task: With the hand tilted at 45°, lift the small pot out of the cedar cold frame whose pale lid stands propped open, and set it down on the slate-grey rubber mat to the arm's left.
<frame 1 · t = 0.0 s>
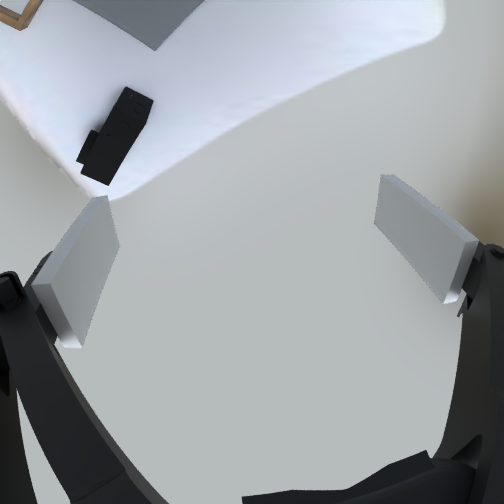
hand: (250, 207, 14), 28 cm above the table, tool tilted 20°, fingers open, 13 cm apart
digital camera: (118, 120, 37), on the table
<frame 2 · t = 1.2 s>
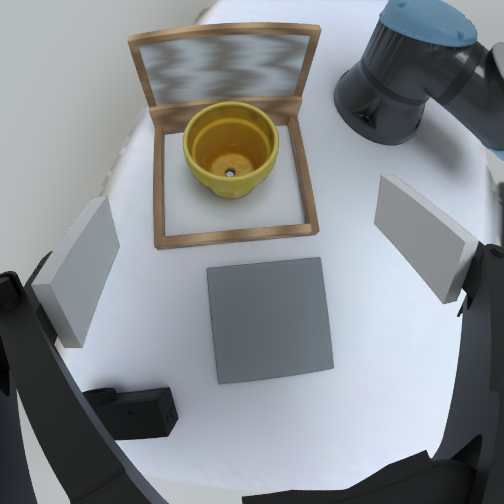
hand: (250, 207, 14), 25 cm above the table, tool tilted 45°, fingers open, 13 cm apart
digital camera: (135, 402, 34), on the table
plant pot: (230, 177, 41), resting in cold frame
mat: (270, 320, 37), on the table
cold frame: (230, 176, 41), on the table
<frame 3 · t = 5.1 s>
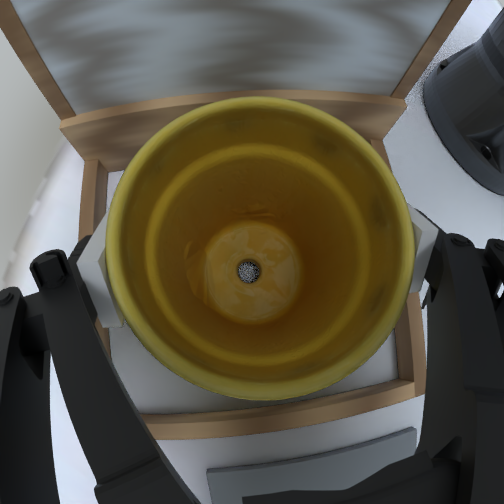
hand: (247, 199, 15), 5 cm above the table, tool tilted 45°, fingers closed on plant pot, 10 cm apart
plant pot: (249, 275, 19), resting in cold frame, touching gripper
cold frame: (249, 275, 19), on the table
when the fingers open (6 cm above the table, at t = 10.6 s): plant pot drops 1 cm, resting on mat.
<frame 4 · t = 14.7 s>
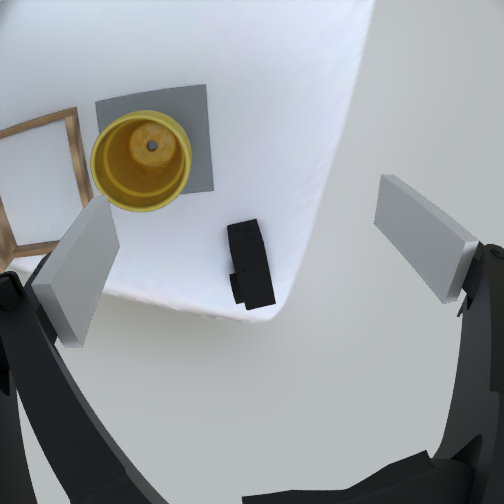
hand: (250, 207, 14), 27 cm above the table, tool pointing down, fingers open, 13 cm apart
digital camera: (244, 251, 48), on the table
plant pot: (154, 143, 37), resting on mat
mat: (154, 144, 37), on the table
cold frame: (37, 187, 37), on the table
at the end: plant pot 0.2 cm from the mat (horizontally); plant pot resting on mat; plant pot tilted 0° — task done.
